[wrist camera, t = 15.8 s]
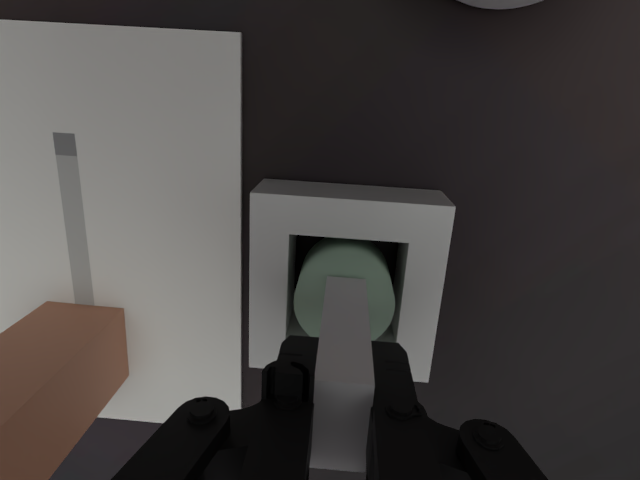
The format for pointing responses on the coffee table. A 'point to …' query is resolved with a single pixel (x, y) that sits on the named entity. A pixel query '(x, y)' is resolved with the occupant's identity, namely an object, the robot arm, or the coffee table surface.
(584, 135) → the coffee table surface
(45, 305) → the block with dark dome
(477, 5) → the mug
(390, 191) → the button housing
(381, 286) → the button
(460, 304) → the coffee table surface
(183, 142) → the paper
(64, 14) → the coffee table surface
